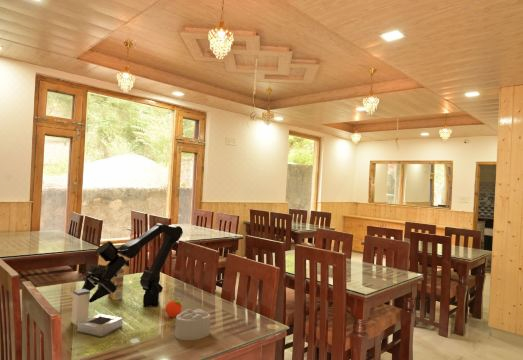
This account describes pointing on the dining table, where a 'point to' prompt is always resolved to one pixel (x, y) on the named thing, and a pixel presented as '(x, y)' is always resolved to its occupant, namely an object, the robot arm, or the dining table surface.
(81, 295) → the plug
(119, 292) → the candy box
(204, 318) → the lumpy-topped squat cylinder
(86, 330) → the socket
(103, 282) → the robot arm
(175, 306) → the tomato
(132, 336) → the dining table surface
